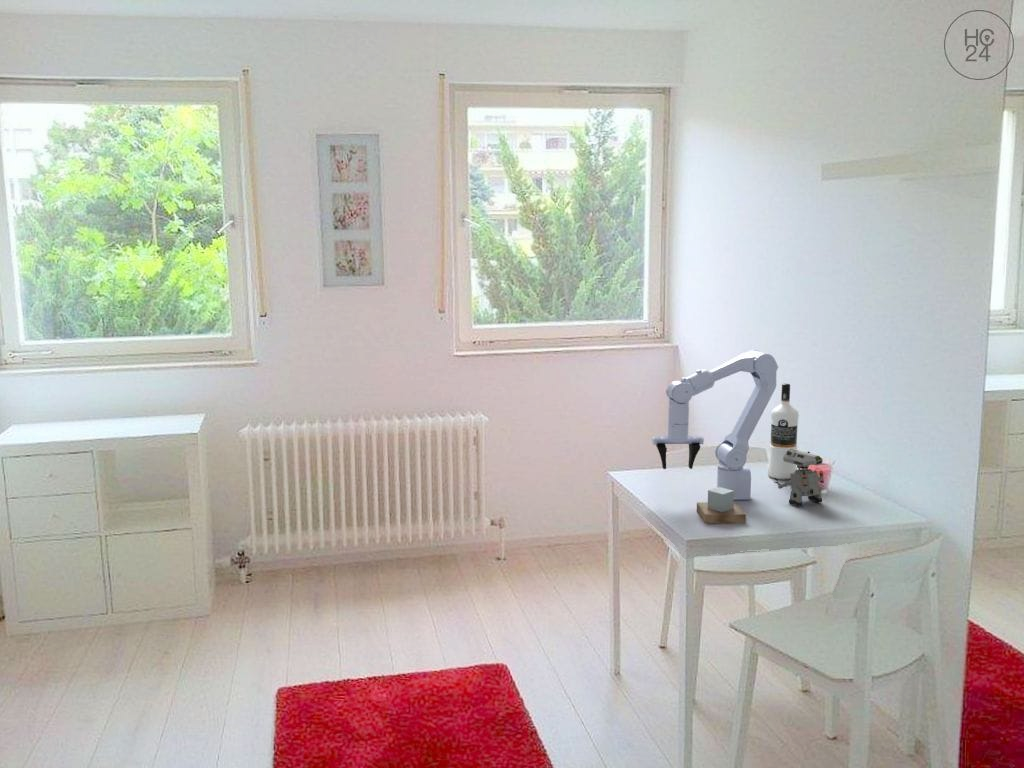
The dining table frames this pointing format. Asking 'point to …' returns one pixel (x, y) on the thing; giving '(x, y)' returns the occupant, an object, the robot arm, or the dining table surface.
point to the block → (720, 499)
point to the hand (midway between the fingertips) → (677, 468)
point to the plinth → (721, 514)
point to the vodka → (783, 436)
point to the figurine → (803, 477)
